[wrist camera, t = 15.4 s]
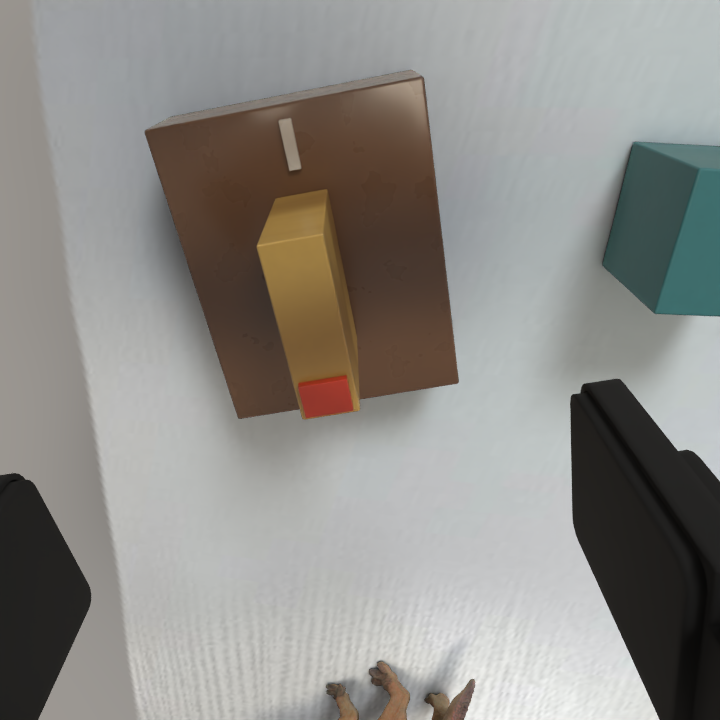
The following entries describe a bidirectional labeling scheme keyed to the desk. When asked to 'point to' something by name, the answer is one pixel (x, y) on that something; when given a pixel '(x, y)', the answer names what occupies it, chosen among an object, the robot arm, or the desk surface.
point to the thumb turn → (311, 303)
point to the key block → (669, 229)
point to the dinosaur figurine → (402, 698)
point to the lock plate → (351, 218)
